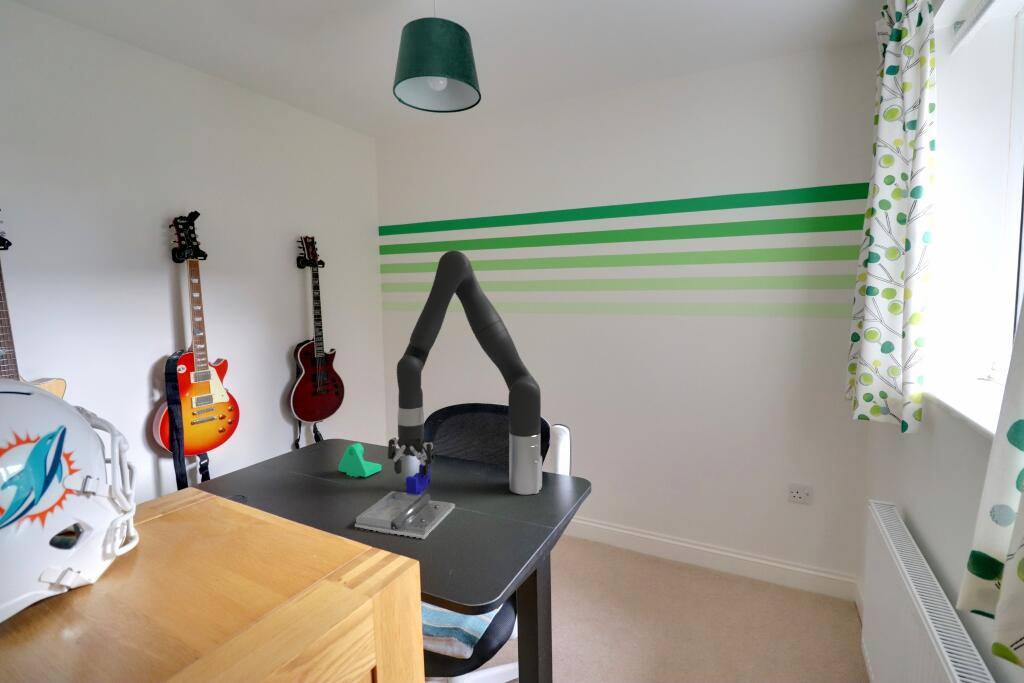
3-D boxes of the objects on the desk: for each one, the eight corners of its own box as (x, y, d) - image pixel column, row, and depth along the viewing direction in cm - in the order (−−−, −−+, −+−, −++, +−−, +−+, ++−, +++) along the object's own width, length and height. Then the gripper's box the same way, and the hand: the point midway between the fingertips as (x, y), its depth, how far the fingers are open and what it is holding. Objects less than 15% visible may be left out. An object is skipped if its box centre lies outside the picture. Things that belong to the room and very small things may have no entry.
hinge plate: (454, 507, 129) (454, 495, 129) (424, 539, 112) (423, 525, 112) (393, 498, 135) (393, 487, 135) (355, 528, 118) (354, 515, 118)
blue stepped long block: (416, 482, 148) (416, 463, 147) (430, 482, 147) (430, 464, 147) (401, 498, 136) (400, 477, 136) (416, 499, 135) (415, 478, 135)
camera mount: (382, 472, 156) (382, 442, 155) (365, 480, 149) (364, 448, 148) (356, 466, 162) (355, 437, 161) (338, 473, 155) (337, 443, 154)
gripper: (438, 420, 141) (438, 473, 143) (396, 416, 145) (396, 467, 147) (426, 427, 134) (427, 482, 136) (382, 422, 138) (383, 476, 140)
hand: (411, 474), depth 141 cm, fingers open, 8 cm apart
